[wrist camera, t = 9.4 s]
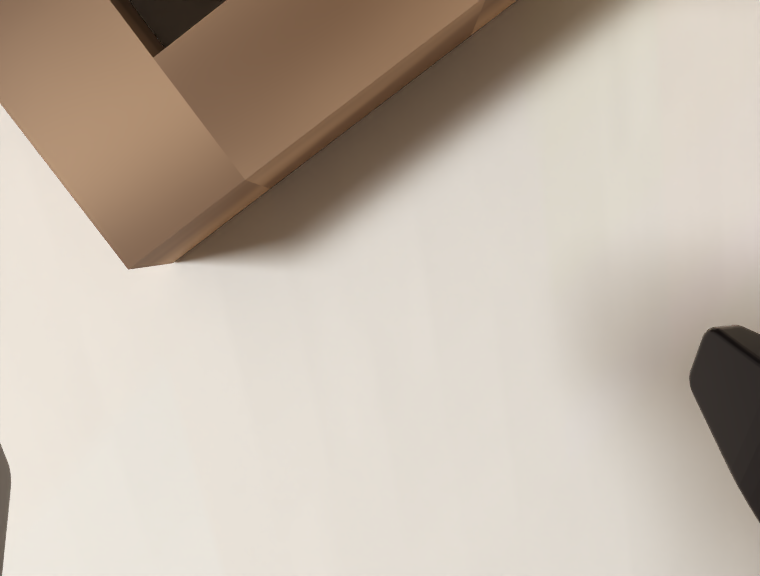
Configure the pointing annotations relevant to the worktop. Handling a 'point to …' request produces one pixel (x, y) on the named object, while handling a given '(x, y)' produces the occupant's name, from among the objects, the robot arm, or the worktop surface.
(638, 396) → the worktop surface
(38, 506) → the worktop surface
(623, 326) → the worktop surface
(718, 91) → the worktop surface
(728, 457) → the robot arm
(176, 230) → the wooden square frame
